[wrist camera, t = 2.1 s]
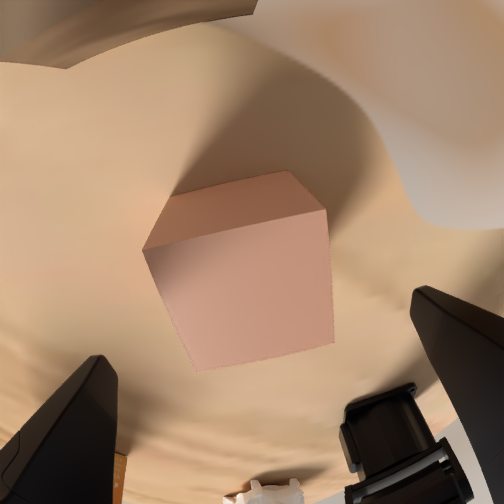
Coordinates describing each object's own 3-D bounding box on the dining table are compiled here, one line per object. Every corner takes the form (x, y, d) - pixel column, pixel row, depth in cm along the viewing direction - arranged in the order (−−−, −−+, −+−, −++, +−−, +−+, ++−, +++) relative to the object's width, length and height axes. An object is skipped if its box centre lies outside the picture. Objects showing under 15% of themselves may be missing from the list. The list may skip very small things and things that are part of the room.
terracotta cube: (287, 169, 12) (325, 209, 8) (302, 271, 14) (334, 342, 10) (170, 196, 12) (142, 250, 8) (201, 293, 14) (196, 371, 10)
